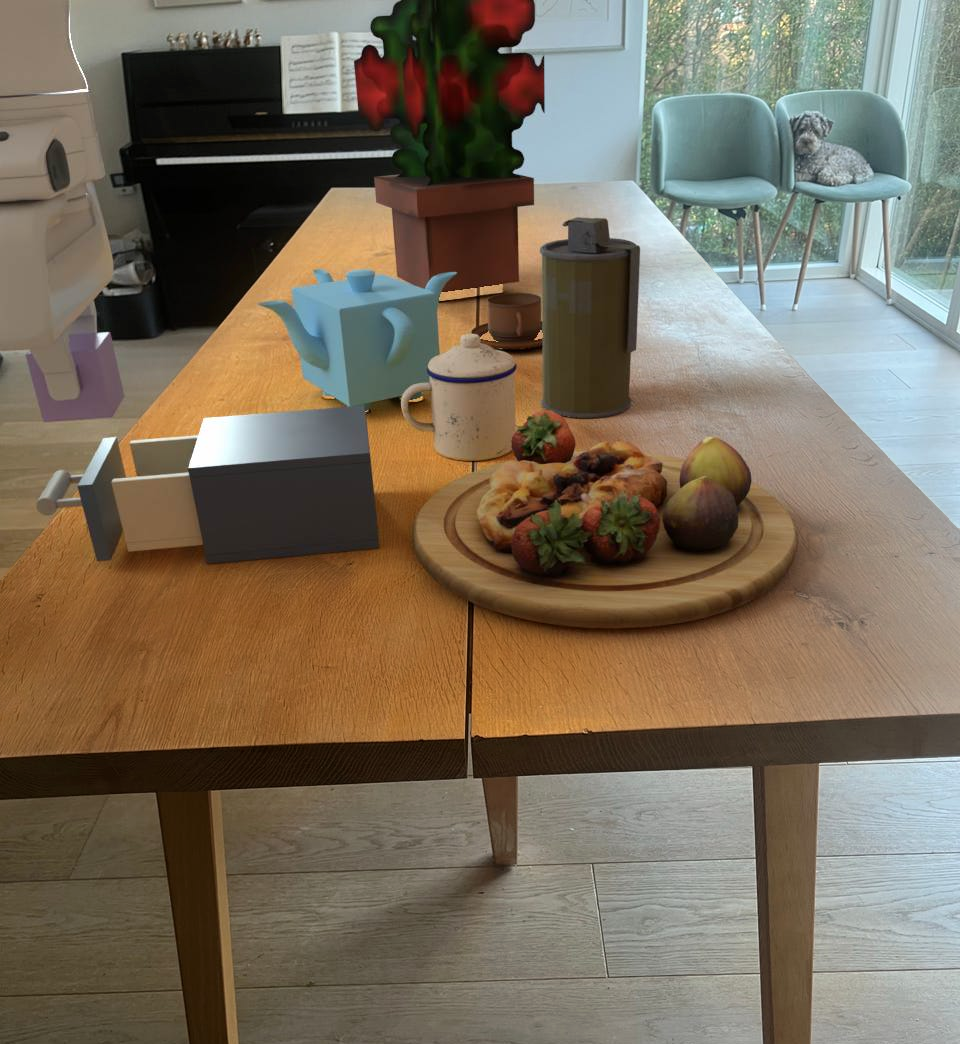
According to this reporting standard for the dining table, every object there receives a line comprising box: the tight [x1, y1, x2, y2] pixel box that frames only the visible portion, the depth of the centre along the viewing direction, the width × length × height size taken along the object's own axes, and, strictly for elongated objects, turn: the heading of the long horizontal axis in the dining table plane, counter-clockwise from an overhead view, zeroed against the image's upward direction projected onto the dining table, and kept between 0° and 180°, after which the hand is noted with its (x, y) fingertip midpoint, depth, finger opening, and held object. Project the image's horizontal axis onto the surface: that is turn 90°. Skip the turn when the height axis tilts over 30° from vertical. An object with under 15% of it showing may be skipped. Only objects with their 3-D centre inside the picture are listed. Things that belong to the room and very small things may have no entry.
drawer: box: [35, 434, 203, 562], centre depth 89 cm, size 18×11×7 cm, turn 98°
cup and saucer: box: [470, 292, 543, 350], centre depth 140 cm, size 12×12×6 cm
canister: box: [539, 216, 641, 419], centre depth 113 cm, size 11×10×20 cm
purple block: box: [25, 331, 125, 423], centre depth 66 cm, size 4×4×4 cm
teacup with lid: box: [400, 333, 518, 462], centre depth 104 cm, size 12×9×12 cm
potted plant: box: [353, 0, 546, 292], centre depth 160 cm, size 22×22×45 cm
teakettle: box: [257, 268, 457, 411], centre depth 120 cm, size 19×19×15 cm
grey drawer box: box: [188, 405, 380, 565], centre depth 90 cm, size 15×13×9 cm
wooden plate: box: [411, 409, 799, 629], centre depth 85 cm, size 32×32×8 cm
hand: (78, 384), depth 67 cm, fingers closed on purple block, 4 cm apart
